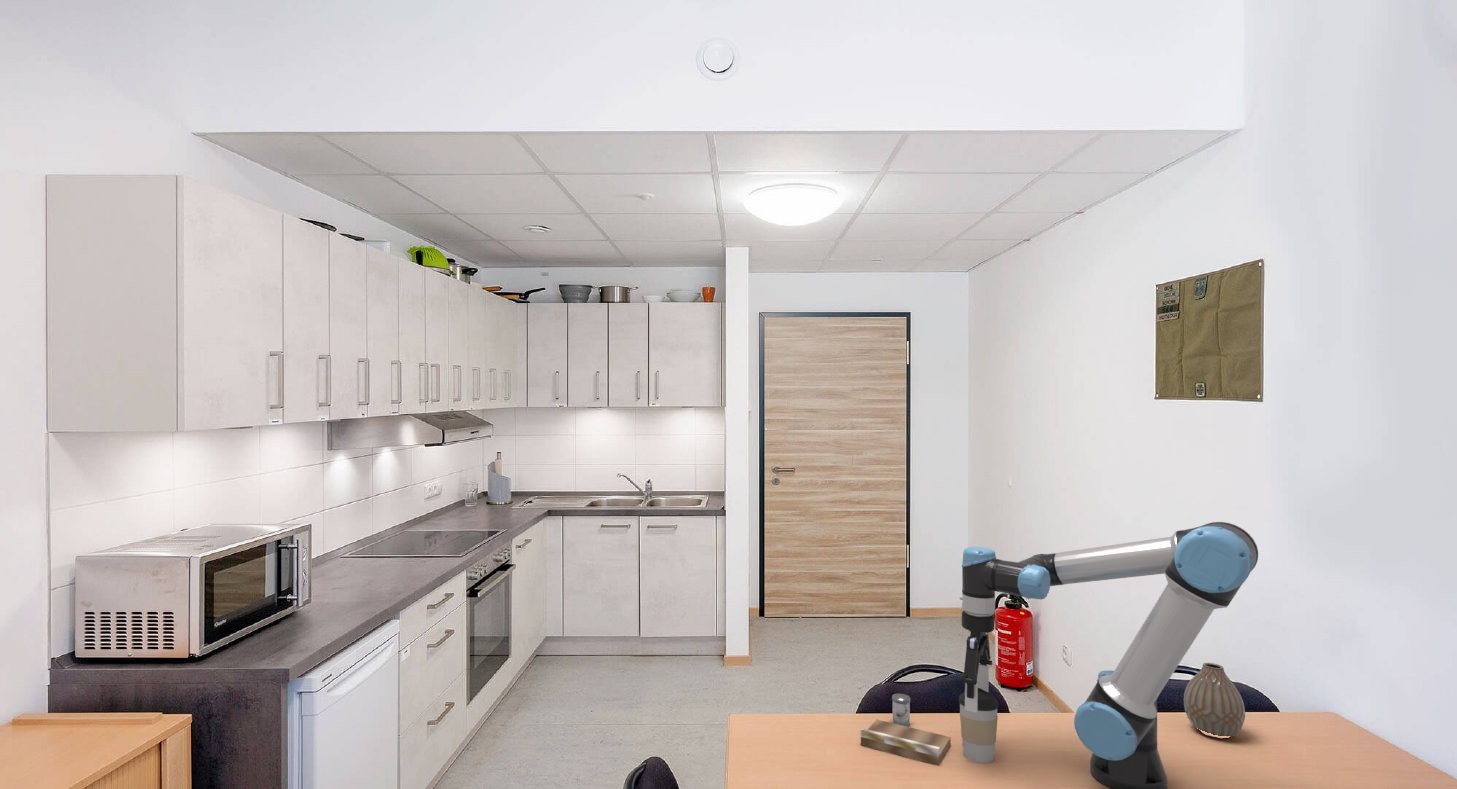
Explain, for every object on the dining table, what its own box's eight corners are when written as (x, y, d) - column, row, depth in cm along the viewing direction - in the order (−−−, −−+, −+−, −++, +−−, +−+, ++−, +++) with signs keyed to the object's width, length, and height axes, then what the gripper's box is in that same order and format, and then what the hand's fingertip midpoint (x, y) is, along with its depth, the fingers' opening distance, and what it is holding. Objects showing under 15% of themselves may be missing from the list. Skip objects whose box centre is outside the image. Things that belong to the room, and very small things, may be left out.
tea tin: (912, 723, 183) (912, 695, 184) (907, 730, 179) (907, 701, 180) (895, 719, 186) (895, 692, 186) (889, 725, 182) (889, 698, 182)
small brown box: (950, 745, 171) (950, 729, 171) (938, 766, 161) (938, 749, 161) (876, 727, 181) (876, 712, 181) (860, 745, 170) (860, 729, 170)
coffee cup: (1001, 767, 160) (1001, 701, 161) (961, 762, 162) (961, 698, 163) (995, 749, 169) (994, 687, 170) (956, 745, 171) (956, 684, 172)
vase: (1172, 725, 184) (1171, 659, 185) (1208, 719, 188) (1207, 654, 188) (1220, 748, 171) (1219, 676, 172) (1258, 741, 175) (1257, 671, 176)
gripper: (972, 598, 180) (971, 680, 179) (950, 622, 158) (948, 715, 158) (1003, 603, 176) (1002, 687, 175) (984, 628, 154) (983, 723, 154)
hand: (976, 700), depth 166 cm, fingers open, 13 cm apart
